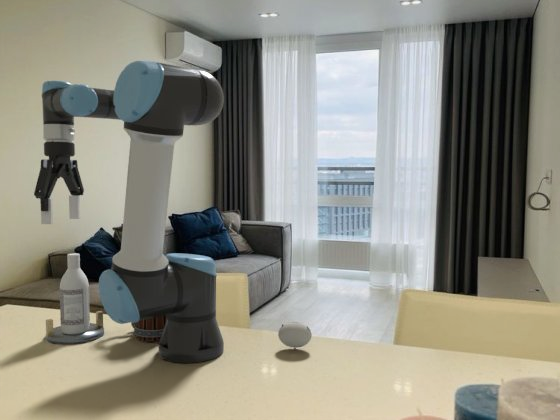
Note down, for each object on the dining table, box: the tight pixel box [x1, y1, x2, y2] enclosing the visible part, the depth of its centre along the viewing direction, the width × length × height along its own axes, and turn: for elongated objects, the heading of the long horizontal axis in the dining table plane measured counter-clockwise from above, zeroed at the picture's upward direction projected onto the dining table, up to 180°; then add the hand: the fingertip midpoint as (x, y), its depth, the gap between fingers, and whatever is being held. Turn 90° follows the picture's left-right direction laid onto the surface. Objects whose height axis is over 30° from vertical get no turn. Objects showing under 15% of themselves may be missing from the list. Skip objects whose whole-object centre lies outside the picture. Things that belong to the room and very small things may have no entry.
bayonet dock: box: [45, 310, 105, 346], centre depth 136 cm, size 14×14×5 cm
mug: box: [130, 315, 166, 343], centre depth 137 cm, size 16×11×15 cm
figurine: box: [277, 321, 313, 351], centre depth 126 cm, size 8×6×7 cm
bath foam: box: [59, 252, 91, 335], centre depth 135 cm, size 7×7×20 cm
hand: (61, 221), depth 141 cm, fingers open, 13 cm apart
